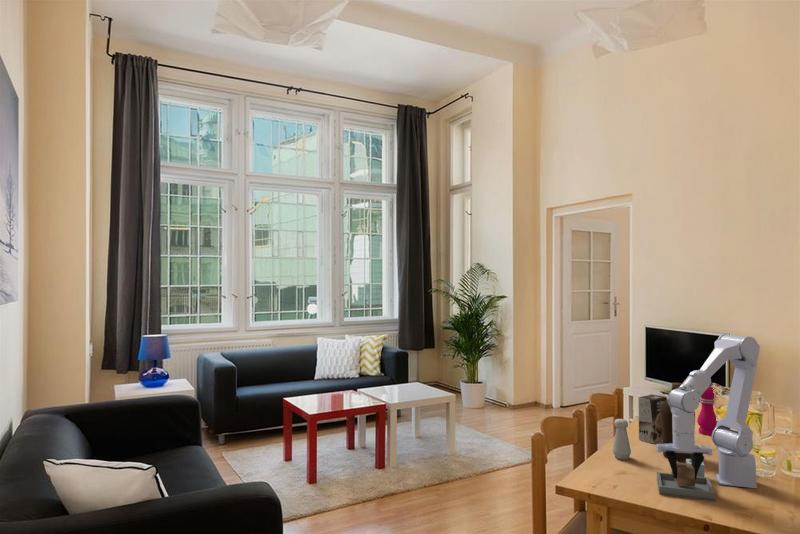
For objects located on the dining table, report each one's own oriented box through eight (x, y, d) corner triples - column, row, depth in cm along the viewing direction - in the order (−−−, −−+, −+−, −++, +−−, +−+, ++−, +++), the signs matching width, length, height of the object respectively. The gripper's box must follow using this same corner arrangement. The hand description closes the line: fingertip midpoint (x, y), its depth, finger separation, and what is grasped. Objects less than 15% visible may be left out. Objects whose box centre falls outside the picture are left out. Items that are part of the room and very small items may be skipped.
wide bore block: (702, 476, 172) (702, 460, 172) (704, 481, 168) (704, 465, 168) (686, 474, 174) (686, 458, 174) (687, 479, 170) (687, 463, 170)
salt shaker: (632, 461, 187) (631, 422, 187) (614, 460, 188) (613, 421, 188) (628, 455, 192) (628, 417, 192) (611, 454, 194) (610, 417, 194)
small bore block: (690, 480, 164) (690, 463, 164) (694, 486, 160) (694, 468, 160) (674, 479, 165) (673, 462, 165) (677, 485, 161) (677, 467, 161)
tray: (708, 485, 165) (708, 477, 165) (715, 500, 154) (714, 492, 154) (656, 479, 171) (656, 471, 171) (659, 494, 159) (659, 486, 160)
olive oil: (663, 460, 187) (661, 385, 187) (659, 450, 197) (658, 379, 197) (698, 463, 183) (697, 387, 183) (693, 453, 193) (691, 381, 193)
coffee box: (654, 444, 204) (653, 400, 204) (638, 439, 209) (637, 396, 210) (668, 439, 209) (667, 396, 209) (652, 435, 214) (651, 393, 215)
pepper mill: (694, 430, 220) (693, 379, 220) (713, 430, 219) (713, 379, 219) (701, 435, 213) (700, 383, 213) (721, 436, 212) (720, 383, 212)
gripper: (706, 428, 165) (707, 474, 165) (653, 426, 168) (654, 471, 168) (714, 435, 158) (715, 483, 158) (658, 432, 161) (659, 479, 161)
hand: (684, 477), depth 162 cm, fingers closed on small bore block, 4 cm apart
